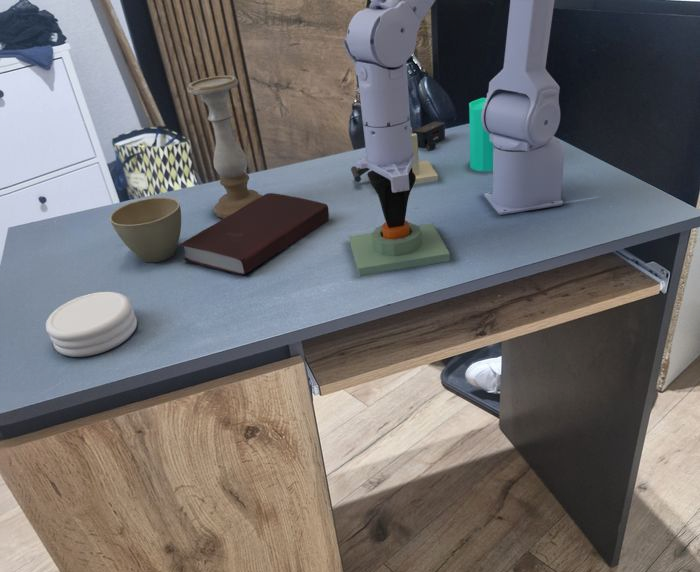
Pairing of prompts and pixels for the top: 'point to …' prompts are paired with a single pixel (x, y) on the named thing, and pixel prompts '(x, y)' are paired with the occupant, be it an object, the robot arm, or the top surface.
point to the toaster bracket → (421, 165)
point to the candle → (479, 139)
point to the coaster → (91, 324)
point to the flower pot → (149, 227)
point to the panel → (398, 250)
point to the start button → (396, 231)
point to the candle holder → (225, 144)
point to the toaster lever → (358, 173)
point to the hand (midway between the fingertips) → (395, 225)
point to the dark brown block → (430, 135)
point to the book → (255, 233)
